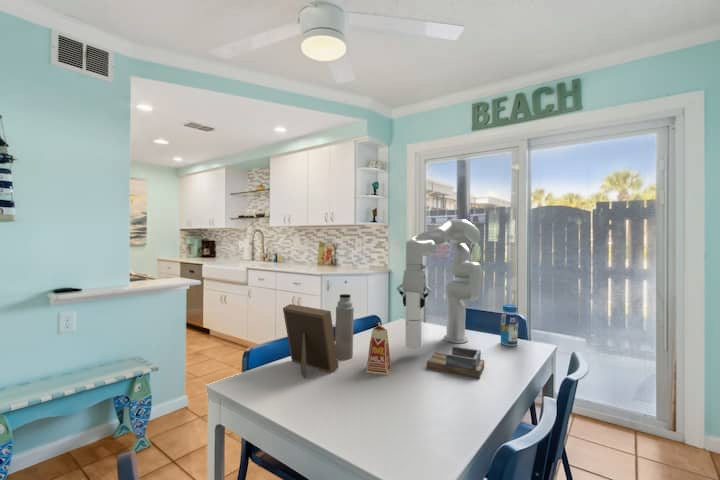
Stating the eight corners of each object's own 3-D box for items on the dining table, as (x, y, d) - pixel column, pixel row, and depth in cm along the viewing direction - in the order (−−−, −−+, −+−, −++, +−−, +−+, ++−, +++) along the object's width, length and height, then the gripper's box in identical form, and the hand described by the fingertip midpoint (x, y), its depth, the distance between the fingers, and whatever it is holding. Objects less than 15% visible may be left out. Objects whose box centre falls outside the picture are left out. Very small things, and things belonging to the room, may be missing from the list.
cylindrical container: (416, 349, 159) (417, 293, 158) (402, 346, 163) (402, 291, 163) (424, 345, 165) (424, 291, 164) (410, 342, 169) (410, 289, 168)
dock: (435, 358, 162) (435, 343, 162) (484, 367, 152) (484, 350, 152) (426, 368, 149) (427, 352, 149) (479, 378, 140) (479, 360, 140)
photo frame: (298, 358, 158) (299, 302, 157) (338, 369, 146) (339, 308, 145) (273, 369, 145) (273, 307, 145) (314, 382, 133) (315, 315, 133)
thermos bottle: (336, 353, 166) (337, 292, 166) (353, 354, 165) (354, 293, 165) (333, 359, 158) (334, 295, 158) (351, 360, 157) (352, 296, 157)
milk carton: (388, 375, 141) (389, 324, 141) (365, 373, 143) (366, 323, 143) (391, 367, 150) (392, 319, 150) (369, 365, 152) (370, 317, 152)
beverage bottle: (500, 340, 193) (501, 303, 192) (518, 343, 189) (519, 305, 189) (499, 344, 185) (500, 306, 185) (517, 347, 181) (518, 307, 181)
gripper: (435, 267, 163) (434, 306, 163) (398, 265, 170) (398, 303, 171) (430, 269, 156) (430, 310, 156) (393, 267, 163) (392, 306, 164)
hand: (413, 306), depth 164 cm, fingers closed on cylindrical container, 7 cm apart
